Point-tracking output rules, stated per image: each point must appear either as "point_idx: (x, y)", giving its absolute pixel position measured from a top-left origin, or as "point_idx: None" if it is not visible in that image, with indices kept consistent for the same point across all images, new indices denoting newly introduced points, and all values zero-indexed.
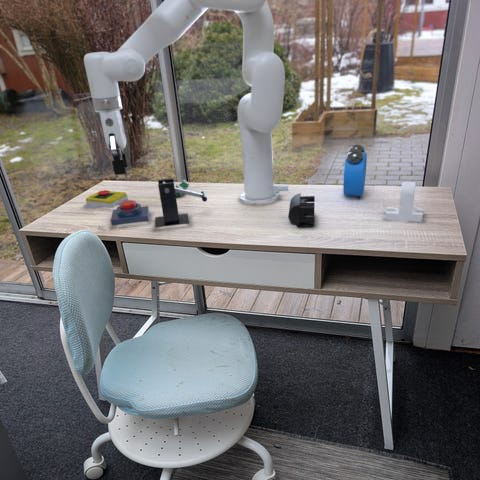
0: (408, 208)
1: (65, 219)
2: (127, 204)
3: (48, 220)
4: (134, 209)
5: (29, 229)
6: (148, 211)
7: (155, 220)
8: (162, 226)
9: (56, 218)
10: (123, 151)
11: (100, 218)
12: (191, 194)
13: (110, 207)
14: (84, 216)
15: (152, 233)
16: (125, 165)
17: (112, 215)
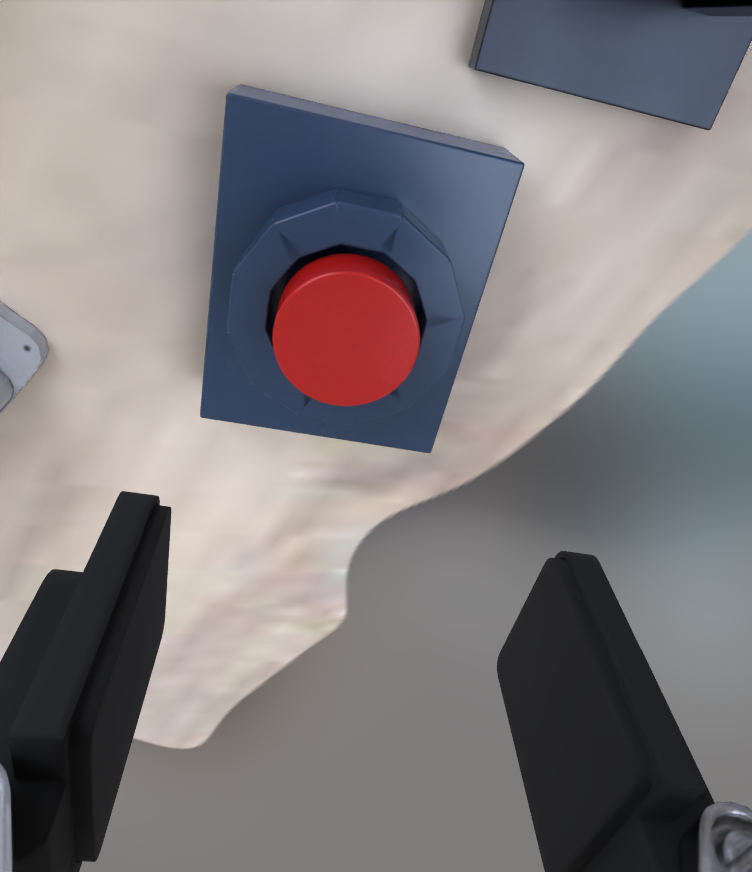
0: None
1: None
2: (399, 354)
3: None
4: (451, 287)
5: (194, 743)
6: (326, 111)
7: (561, 88)
8: (742, 55)
9: None
10: (13, 813)
11: (172, 467)
12: None
13: (4, 402)
14: (87, 546)
15: (723, 166)
16: (166, 538)
17: (335, 433)
